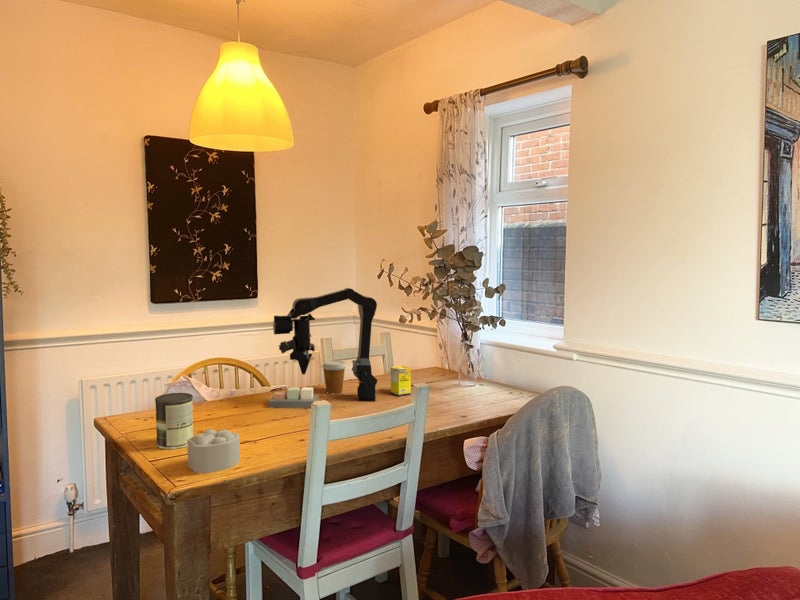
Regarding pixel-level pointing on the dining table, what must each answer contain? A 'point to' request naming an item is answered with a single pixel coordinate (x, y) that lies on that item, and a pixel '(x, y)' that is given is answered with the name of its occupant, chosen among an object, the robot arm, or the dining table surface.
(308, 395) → the cream white cube
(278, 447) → the dining table surface
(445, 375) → the dining table surface
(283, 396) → the pink cube
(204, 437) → the lumpy-topped squat cylinder
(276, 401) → the keypad base
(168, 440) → the coffee can
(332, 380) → the disposable coffee cup
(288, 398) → the key mid
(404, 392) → the supplement box
